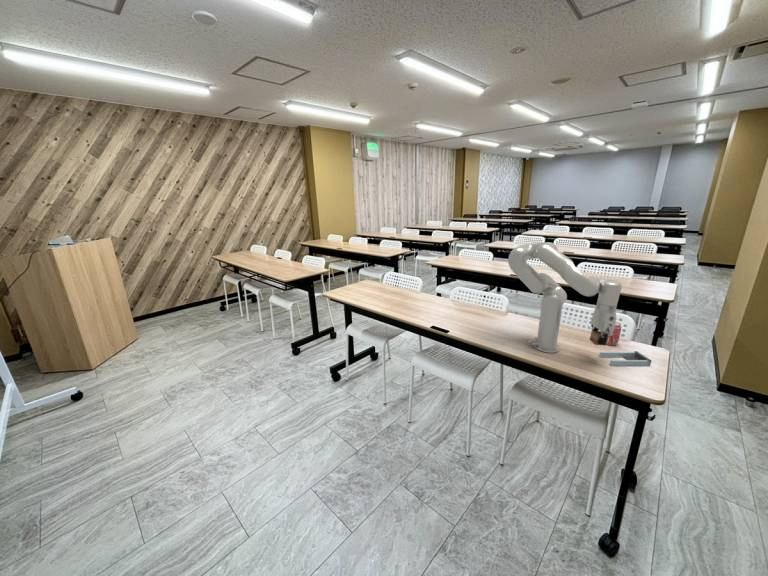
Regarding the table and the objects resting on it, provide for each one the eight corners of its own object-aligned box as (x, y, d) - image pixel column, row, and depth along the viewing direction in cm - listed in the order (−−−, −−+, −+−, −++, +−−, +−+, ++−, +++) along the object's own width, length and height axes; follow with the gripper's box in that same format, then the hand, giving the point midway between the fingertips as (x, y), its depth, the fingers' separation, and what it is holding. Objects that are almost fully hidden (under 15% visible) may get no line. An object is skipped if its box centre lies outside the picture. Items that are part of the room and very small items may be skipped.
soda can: (602, 339, 169) (606, 319, 166) (618, 342, 165) (622, 322, 162) (601, 343, 164) (605, 323, 161) (617, 347, 160) (622, 327, 156)
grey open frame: (611, 365, 143) (612, 360, 142) (598, 356, 151) (600, 351, 150) (650, 365, 142) (651, 360, 141) (635, 356, 150) (636, 351, 150)
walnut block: (595, 344, 143) (597, 335, 141) (589, 340, 147) (591, 330, 146) (606, 345, 142) (608, 335, 141) (600, 340, 147) (602, 331, 145)
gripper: (627, 313, 131) (618, 350, 136) (602, 300, 147) (594, 333, 153) (610, 313, 131) (601, 350, 137) (586, 300, 147) (579, 333, 153)
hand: (597, 341), depth 145 cm, fingers closed on walnut block, 5 cm apart
